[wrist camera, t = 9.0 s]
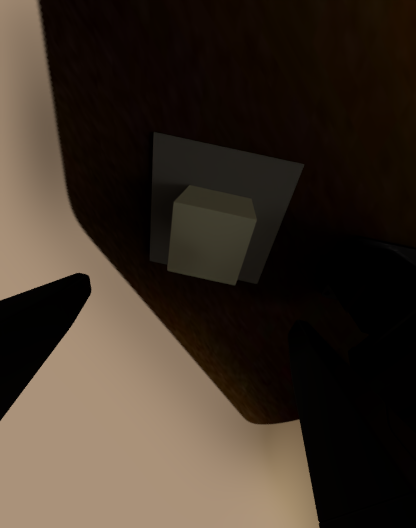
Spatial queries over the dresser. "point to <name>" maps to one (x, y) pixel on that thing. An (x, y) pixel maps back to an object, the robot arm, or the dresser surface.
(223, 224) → the cube
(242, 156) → the mat
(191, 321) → the dresser surface
